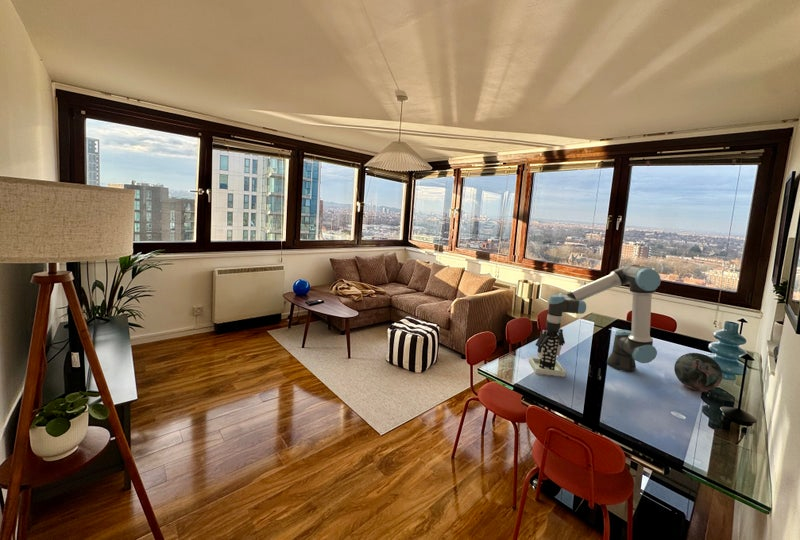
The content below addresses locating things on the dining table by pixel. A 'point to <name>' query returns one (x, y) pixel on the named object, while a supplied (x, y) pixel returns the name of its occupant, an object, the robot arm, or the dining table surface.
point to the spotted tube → (549, 353)
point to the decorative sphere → (698, 371)
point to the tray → (556, 372)
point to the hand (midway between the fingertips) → (548, 356)
